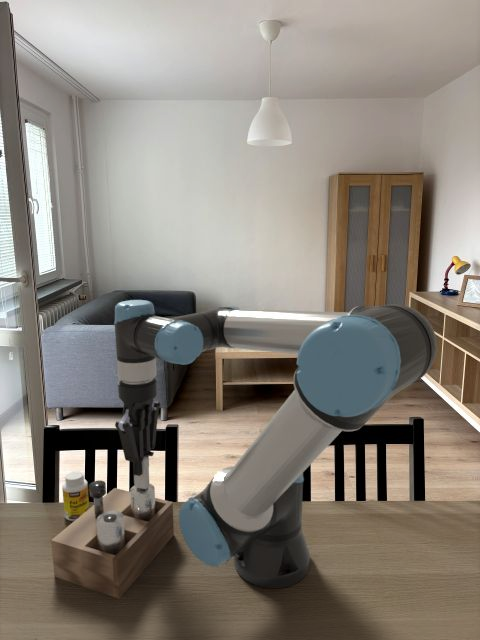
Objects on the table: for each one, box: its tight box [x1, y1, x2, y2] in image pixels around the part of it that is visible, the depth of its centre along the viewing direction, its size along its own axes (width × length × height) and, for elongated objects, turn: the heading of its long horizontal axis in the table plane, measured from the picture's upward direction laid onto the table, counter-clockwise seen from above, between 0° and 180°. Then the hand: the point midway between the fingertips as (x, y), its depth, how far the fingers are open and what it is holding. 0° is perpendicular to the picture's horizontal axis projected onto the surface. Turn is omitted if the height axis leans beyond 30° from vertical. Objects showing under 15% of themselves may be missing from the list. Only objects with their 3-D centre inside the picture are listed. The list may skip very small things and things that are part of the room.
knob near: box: [96, 511, 125, 556], centre depth 96 cm, size 5×5×9 cm
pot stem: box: [88, 480, 107, 518], centre depth 103 cm, size 3×3×7 cm
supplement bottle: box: [61, 470, 90, 522], centre depth 117 cm, size 6×6×10 cm
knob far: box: [129, 483, 156, 522], centre depth 106 cm, size 5×5×9 cm
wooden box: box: [50, 487, 175, 599], centre depth 103 cm, size 15×20×8 cm
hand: (142, 486), depth 105 cm, fingers closed
